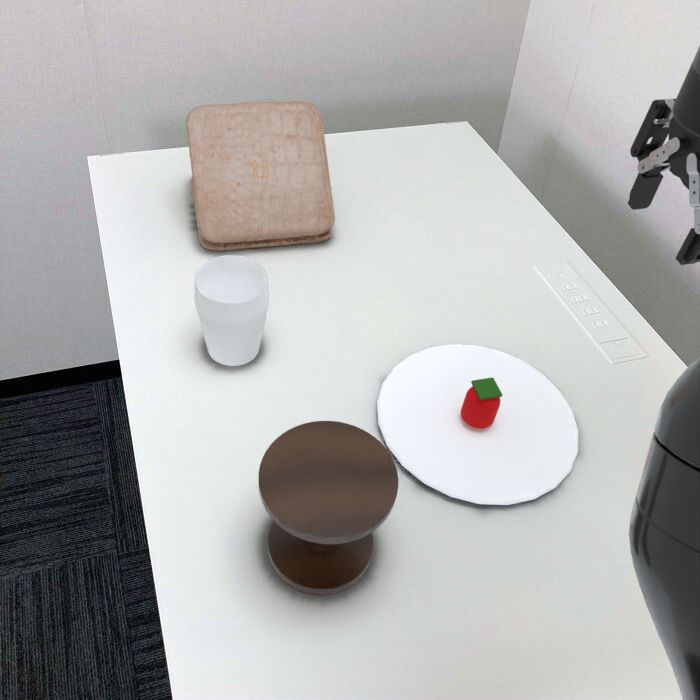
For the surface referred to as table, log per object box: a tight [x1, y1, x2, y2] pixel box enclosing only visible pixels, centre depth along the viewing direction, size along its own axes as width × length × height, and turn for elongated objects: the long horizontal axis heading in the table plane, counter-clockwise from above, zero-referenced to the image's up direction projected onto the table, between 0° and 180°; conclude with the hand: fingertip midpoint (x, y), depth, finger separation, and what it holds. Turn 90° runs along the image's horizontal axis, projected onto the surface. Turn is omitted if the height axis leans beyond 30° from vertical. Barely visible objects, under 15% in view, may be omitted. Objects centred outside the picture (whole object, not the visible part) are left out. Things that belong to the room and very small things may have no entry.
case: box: [185, 100, 336, 252], centre depth 111 cm, size 20×21×16 cm
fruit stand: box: [258, 420, 399, 596], centre depth 73 cm, size 13×13×13 cm
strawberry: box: [461, 377, 502, 429], centre depth 88 cm, size 4×4×5 cm
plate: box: [376, 343, 579, 507], centre depth 91 cm, size 25×25×1 cm
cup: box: [193, 254, 270, 367], centre depth 92 cm, size 9×9×12 cm
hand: (660, 233), depth 70 cm, fingers open, 8 cm apart
